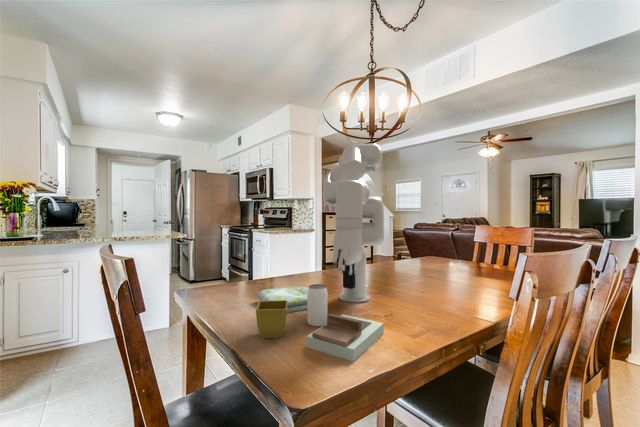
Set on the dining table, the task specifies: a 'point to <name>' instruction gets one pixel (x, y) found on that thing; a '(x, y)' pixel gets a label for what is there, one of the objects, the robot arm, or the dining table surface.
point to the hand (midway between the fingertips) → (349, 287)
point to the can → (317, 305)
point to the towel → (287, 297)
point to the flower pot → (271, 318)
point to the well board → (356, 347)
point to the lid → (339, 330)
